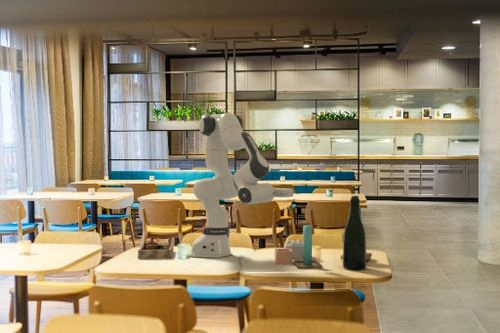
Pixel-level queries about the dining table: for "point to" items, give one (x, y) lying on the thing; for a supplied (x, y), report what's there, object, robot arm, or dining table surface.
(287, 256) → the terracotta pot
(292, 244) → the gray bumpy block
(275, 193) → the robot arm
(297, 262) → the walnut tray
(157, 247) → the pottery mug
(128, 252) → the dining table surface
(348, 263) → the dark green wine bottle
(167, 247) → the shallow wooden crate
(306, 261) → the teal dowel
